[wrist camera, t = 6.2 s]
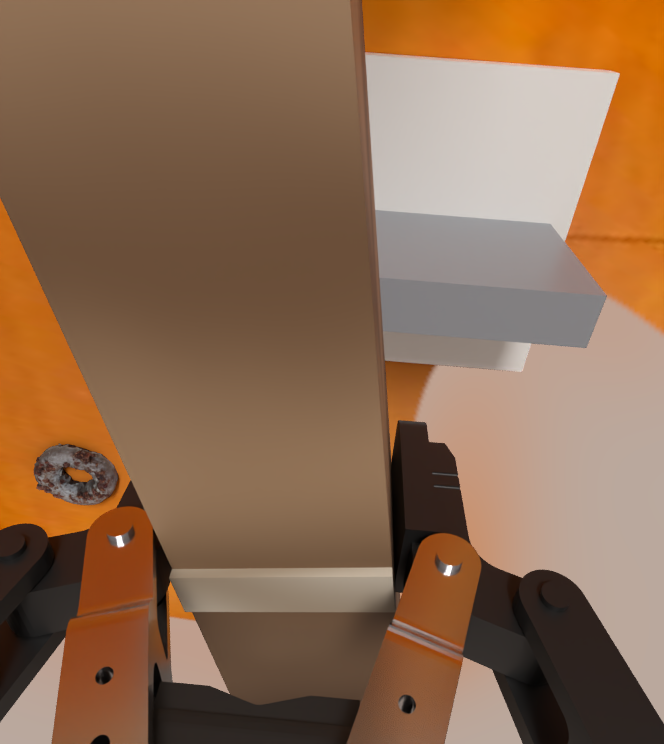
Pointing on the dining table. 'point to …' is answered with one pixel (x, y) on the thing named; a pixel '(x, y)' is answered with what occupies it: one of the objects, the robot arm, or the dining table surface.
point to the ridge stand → (481, 206)
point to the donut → (62, 484)
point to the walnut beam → (222, 303)
